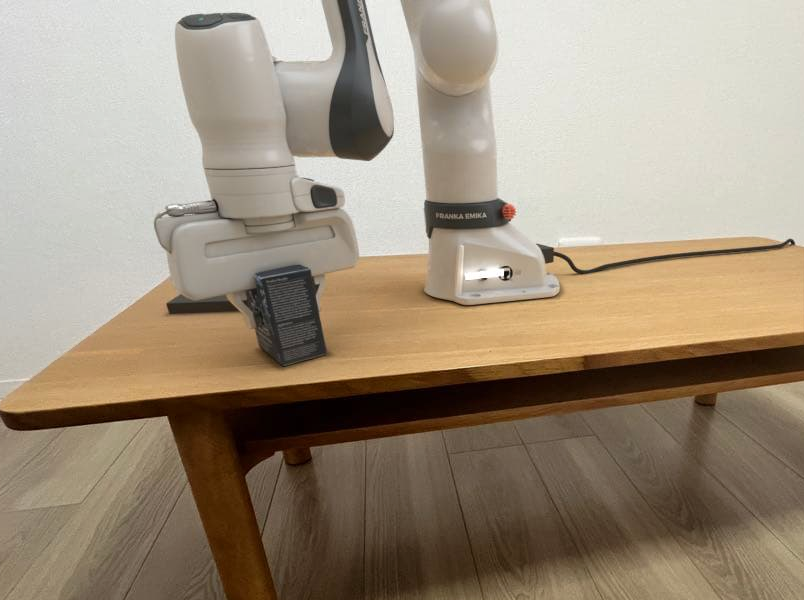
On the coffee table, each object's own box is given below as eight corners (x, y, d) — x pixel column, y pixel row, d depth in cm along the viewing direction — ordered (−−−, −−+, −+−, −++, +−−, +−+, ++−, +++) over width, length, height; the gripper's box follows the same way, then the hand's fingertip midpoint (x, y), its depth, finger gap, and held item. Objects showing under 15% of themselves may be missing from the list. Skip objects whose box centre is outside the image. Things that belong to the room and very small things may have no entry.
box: (258, 348, 67) (236, 263, 62) (303, 337, 70) (285, 255, 65) (281, 367, 62) (259, 276, 57) (328, 354, 65) (311, 267, 60)
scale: (304, 284, 93) (300, 264, 92) (280, 310, 80) (275, 287, 79) (207, 288, 92) (201, 267, 90) (168, 315, 79) (160, 292, 77)
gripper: (157, 209, 49) (201, 350, 56) (356, 189, 62) (373, 305, 69) (138, 203, 53) (181, 335, 59) (329, 185, 66) (347, 295, 72)
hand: (285, 319), depth 64 cm, fingers closed on box, 6 cm apart
